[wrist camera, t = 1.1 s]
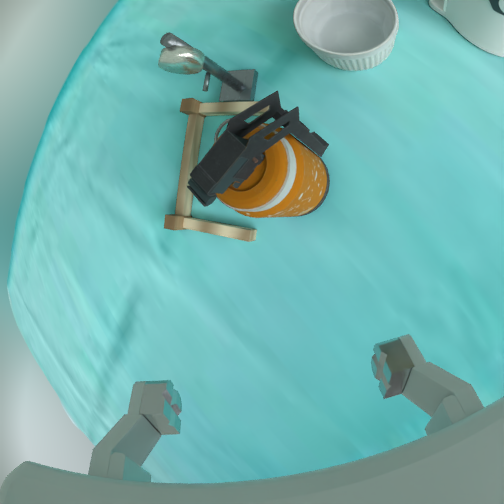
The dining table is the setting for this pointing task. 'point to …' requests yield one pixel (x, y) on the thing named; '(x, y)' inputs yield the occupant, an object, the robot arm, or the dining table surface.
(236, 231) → the cradle
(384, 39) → the ramekin
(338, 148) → the dining table surface
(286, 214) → the canister
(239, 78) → the mirror on stand
